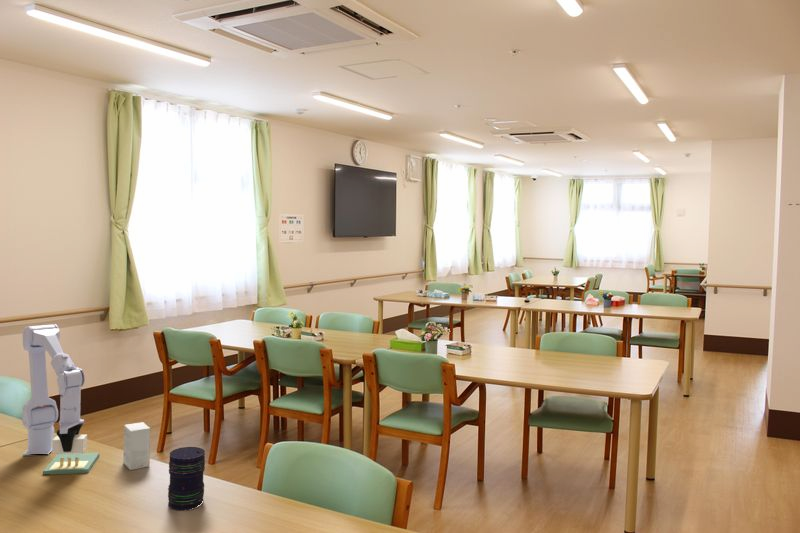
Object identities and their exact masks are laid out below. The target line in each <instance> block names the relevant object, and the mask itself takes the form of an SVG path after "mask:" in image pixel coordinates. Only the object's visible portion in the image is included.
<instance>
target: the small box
mask: <svg viewBox="0 0 800 533" xmlns="http://www.w3.org/2000/svg"><path fill="white" fill-rule="evenodd" d="M123 426H124V428H123V429H124V430H123V455H122V456H123V458H122V462H123V464H124V465H125V466H126V467H127V469H129V470H130V471H132V470H138V469H143V468H147V467H150V463H151V462H150V460H151V459H150V458H151V456H150V455H151V427H150V426H148V425H147V423H145V422H143V421H141V422H134V423H127V424H124V425H123Z"/></svg>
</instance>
